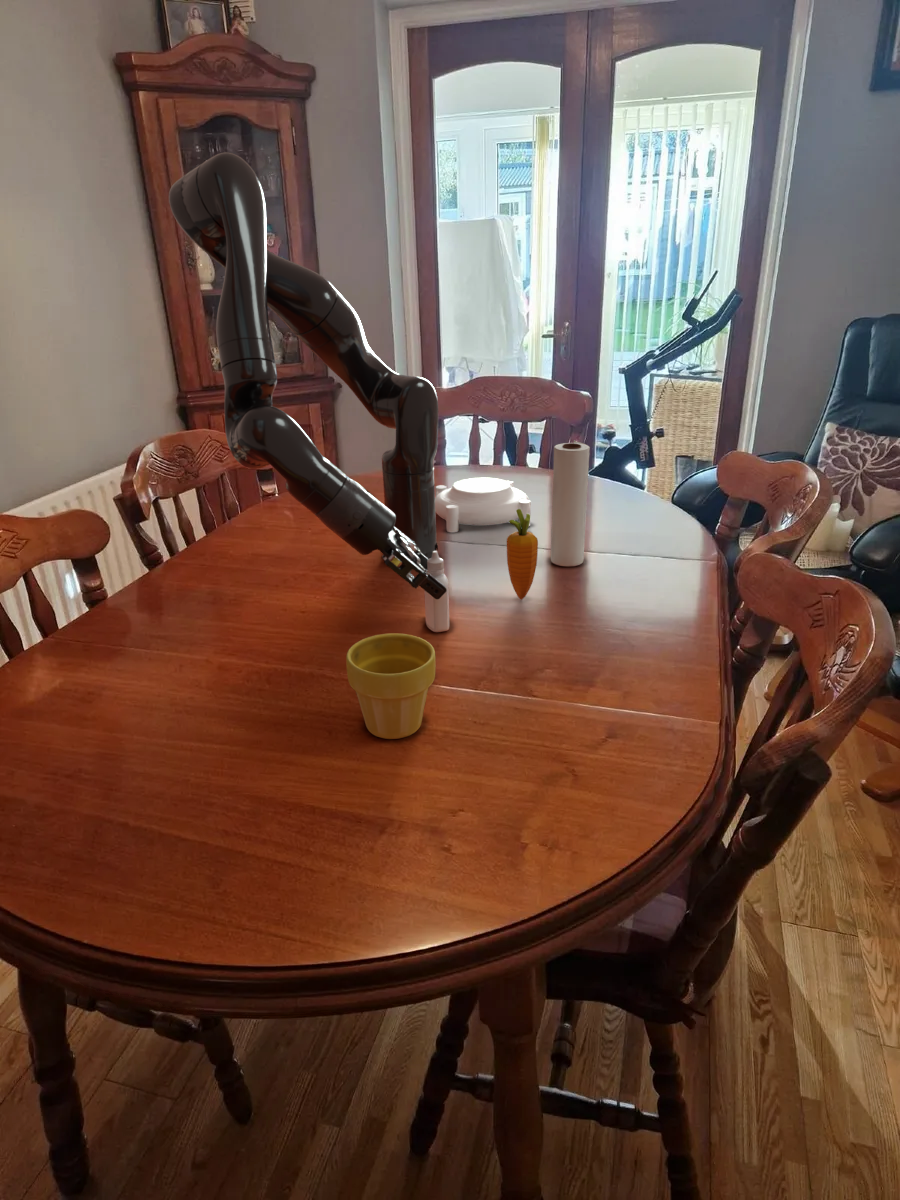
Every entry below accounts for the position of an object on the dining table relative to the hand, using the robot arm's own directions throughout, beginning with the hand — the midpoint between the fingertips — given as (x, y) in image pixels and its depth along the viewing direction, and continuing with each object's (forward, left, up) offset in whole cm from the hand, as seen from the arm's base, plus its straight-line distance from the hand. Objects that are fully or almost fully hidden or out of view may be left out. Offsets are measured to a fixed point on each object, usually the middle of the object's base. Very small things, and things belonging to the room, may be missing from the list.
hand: (437, 583), depth 112 cm
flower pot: (+16, -22, -7) cm, 28 cm away
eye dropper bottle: (0, 0, -7) cm, 7 cm away
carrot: (+3, +16, -7) cm, 18 cm away
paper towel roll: (-2, +35, -7) cm, 36 cm away
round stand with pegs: (-32, +43, -7) cm, 54 cm away
